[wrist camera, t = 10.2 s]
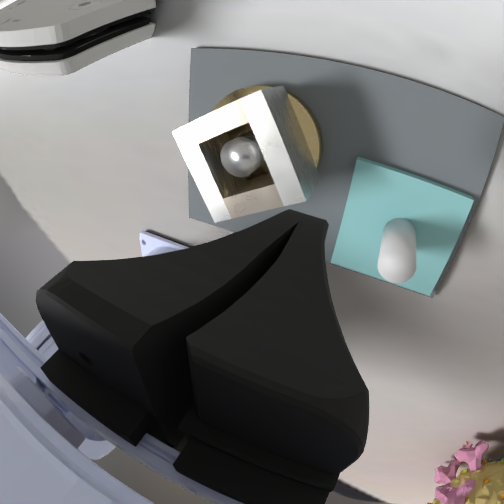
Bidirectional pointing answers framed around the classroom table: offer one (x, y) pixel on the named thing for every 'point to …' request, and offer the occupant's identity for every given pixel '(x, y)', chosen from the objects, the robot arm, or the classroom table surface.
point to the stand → (399, 226)
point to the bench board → (354, 129)
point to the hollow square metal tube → (272, 147)
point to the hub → (247, 148)
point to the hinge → (68, 33)
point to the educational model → (471, 478)
